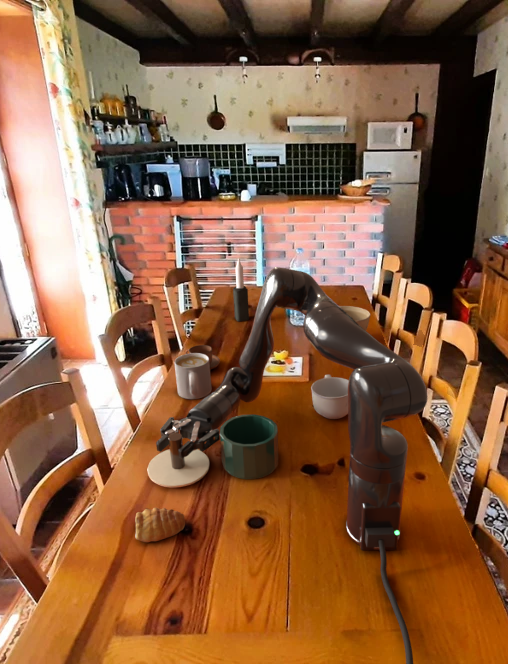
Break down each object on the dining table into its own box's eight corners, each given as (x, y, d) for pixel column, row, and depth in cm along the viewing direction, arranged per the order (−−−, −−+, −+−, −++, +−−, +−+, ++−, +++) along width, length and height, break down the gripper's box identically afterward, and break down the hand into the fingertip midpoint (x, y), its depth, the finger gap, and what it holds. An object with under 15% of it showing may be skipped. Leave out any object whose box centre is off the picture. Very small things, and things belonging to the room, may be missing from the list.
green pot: (280, 478, 103) (279, 445, 100) (221, 480, 104) (218, 447, 101) (276, 444, 115) (275, 413, 112) (223, 446, 115) (221, 415, 112)
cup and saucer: (178, 374, 153) (176, 356, 151) (190, 358, 164) (188, 341, 162) (214, 376, 150) (213, 358, 148) (224, 360, 161) (223, 342, 159)
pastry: (183, 512, 95) (181, 497, 94) (187, 538, 89) (185, 522, 88) (135, 521, 94) (132, 505, 92) (136, 547, 88) (133, 531, 86)
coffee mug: (181, 382, 147) (178, 353, 143) (213, 383, 146) (211, 352, 142) (171, 405, 135) (167, 373, 131) (206, 405, 134) (203, 373, 130)
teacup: (354, 425, 120) (355, 397, 117) (310, 422, 123) (310, 395, 120) (352, 398, 133) (353, 371, 130) (312, 396, 135) (312, 370, 132)
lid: (207, 488, 102) (204, 454, 98) (142, 490, 102) (137, 457, 99) (211, 450, 114) (208, 418, 111) (153, 452, 115) (149, 421, 112)
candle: (234, 318, 199) (230, 257, 189) (245, 316, 200) (242, 256, 191) (237, 321, 194) (234, 260, 185) (249, 319, 196) (247, 258, 186)
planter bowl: (371, 352, 160) (372, 321, 156) (321, 351, 163) (322, 321, 159) (366, 333, 175) (367, 305, 171) (320, 333, 178) (321, 305, 173)
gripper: (184, 394, 119) (140, 428, 106) (235, 406, 112) (195, 444, 99) (187, 420, 122) (144, 457, 108) (236, 433, 115) (198, 474, 102)
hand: (169, 451), depth 104 cm, fingers open, 5 cm apart
